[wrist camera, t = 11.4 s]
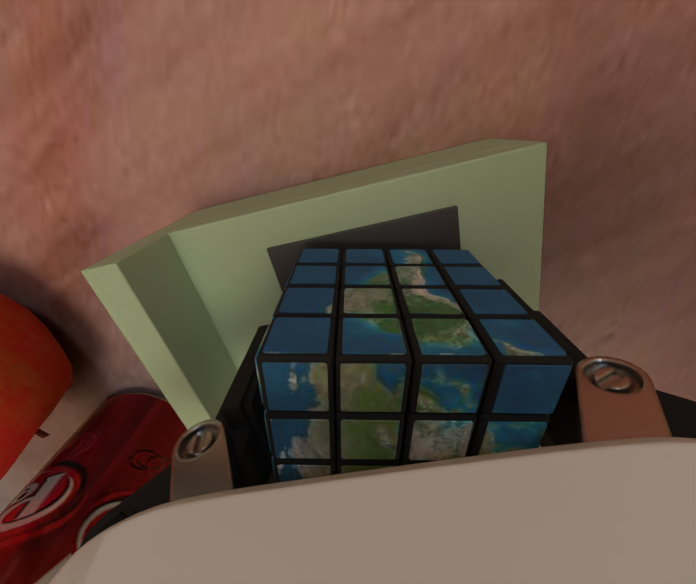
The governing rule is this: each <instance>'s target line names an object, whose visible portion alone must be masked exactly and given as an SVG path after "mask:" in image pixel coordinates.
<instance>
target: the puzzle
mask: <svg viewBox="0 0 696 584" xmlns="http://www.w3.org/2000/svg"><path fill="white" fill-rule="evenodd" d="M572 363H573V360H572V359H571V358H570V357H569V356H568V355H567V354H566V352H565V351H564V350H563V349H562V348H561V347H560V346H559V345H558V344H557V343H556V342H555V341H554V340H553V339H552V337H551V336H550V335H549V334H548V333H547V332H546V331H545V330H544V329H543V328H542V327H541V326H540V325H539V324H538V323H537V322H536V321H535V320H533V319H532V317H531V316H530V315H529V314H528V313H527V312H526V311H525V310H524V308H523V307H522V306H521V305H520V304H519V303H518V302H517V301H516V300H515V299H514V298H513V297H512V296H511V295H510V294H509V293H508V292H507V291H506V290H504V287H503V286H502V285H501V284H500V283H499V282H498V281H497V280H496V279H495V278H494V277H493V276H492V275H491V274H490V273H489V272H488V271H487V269H486V268H485V267H483V266H482V265H481V264H480V262H479V261H478V260H477V259H476V258H475V257H474V256H473V255H472V254H471V253H470V252H469V251H468V250H433V251H430V252H429V253H427V252H426V251H425V250H420V249H390V250H388V251H387V252H386V257H385V254H384V251H382V250H381V249H347V250H344V252H343V264H342V252H341V251H340V250H339V249H303V250H302V251H301V252H300V253H299V255H298V257H297V259H296V262H295V264H294V269H293V271H291V273H290V276H289V278H288V280H287V283H286V285H285V290H284V292H283V294H281V297H280V299H279V302H278V304H277V306H276V309H275V311H274V313H273V316H272V322H271V324H269V325H268V328H267V330H266V332H265V335H264V337H263V339H262V342H261V344H260V346H259V349H258V351H257V353H256V356H255V365H256V371H257V377H258V383H259V388H260V394H261V400H262V403H264V408H265V412H264V419H265V424H266V430H267V436H268V442H269V447H270V451H271V452H272V466H273V472H274V478H275V483H279V482H286V481H293V480H301V479H308V478H315V477H322V476H329V475H336V474H343V473H351V472H358V471H365V470H373V469H380V468H387V467H395V466H402V465H410V464H417V463H425V462H432V461H440V460H447V459H455V458H463V457H470V456H478V455H486V454H494V453H501V452H509V451H517V450H525V449H532V448H538V447H539V444H540V442H541V440H542V437H543V435H544V433H545V430H546V428H547V426H548V425H547V422H548V420H549V416H548V415H547V414H551V413H553V411H554V409H555V407H556V404H557V402H558V399H559V397H560V395H561V392H562V390H563V388H564V385H565V383H566V381H567V378H568V376H569V374H570V371H571V369H572V368H571V365H572Z"/></svg>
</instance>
